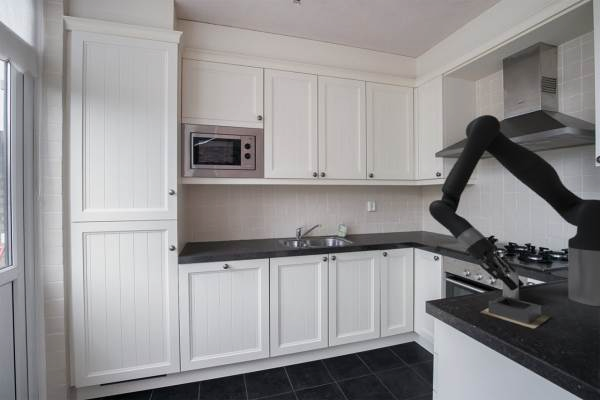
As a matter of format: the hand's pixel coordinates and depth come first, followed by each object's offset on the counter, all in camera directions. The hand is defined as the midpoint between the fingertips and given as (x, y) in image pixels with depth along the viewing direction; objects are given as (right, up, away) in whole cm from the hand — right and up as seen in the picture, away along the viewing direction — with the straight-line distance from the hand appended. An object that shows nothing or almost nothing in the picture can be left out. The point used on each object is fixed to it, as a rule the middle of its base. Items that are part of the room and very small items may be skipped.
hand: (518, 287), depth 84 cm
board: (-8, -6, -9) cm, 14 cm away
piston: (-1, -4, +2) cm, 5 cm away
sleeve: (-8, -5, -9) cm, 13 cm away
